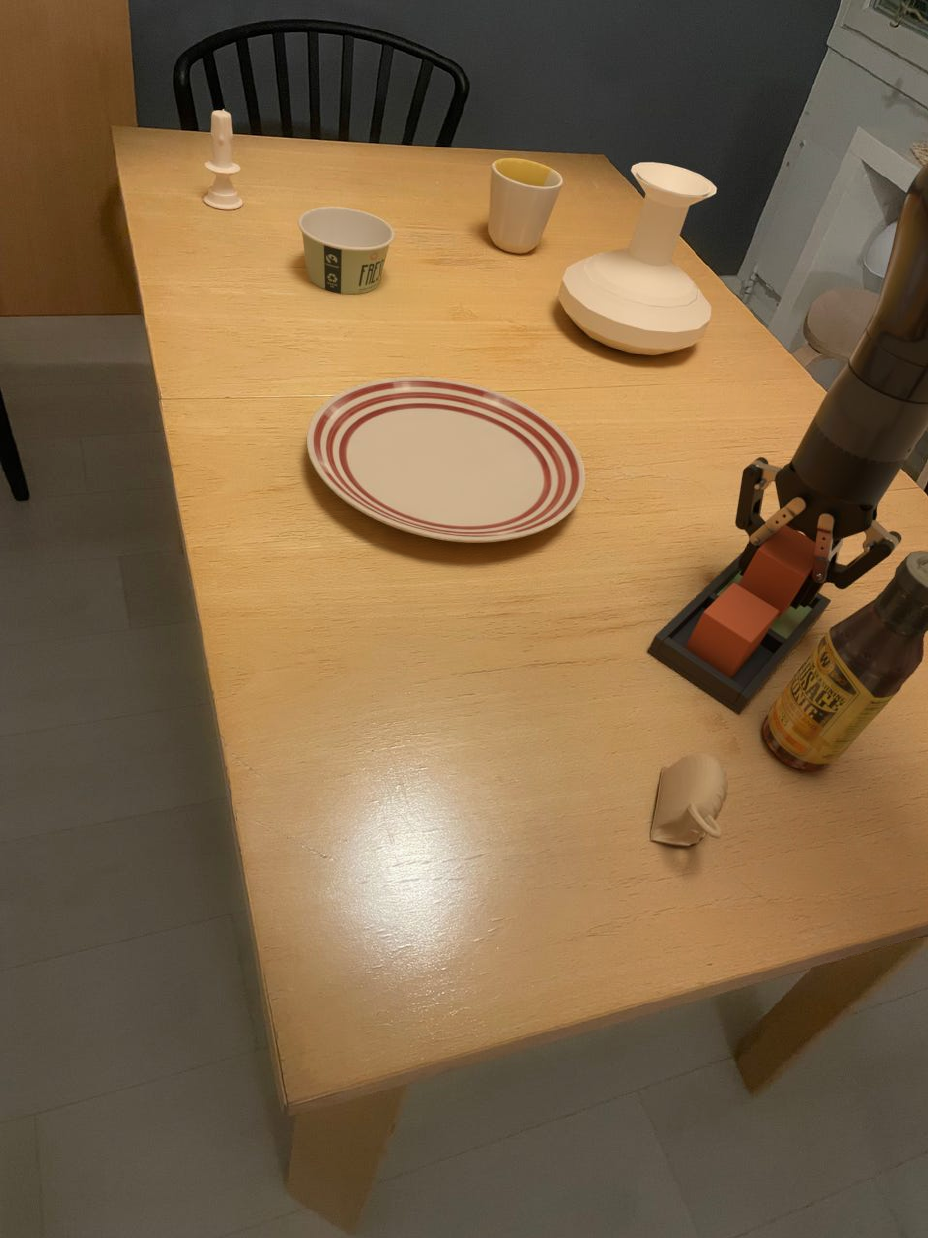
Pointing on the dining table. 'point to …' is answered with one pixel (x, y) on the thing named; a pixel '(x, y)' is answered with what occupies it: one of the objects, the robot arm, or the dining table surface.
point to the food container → (344, 248)
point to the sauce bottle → (852, 672)
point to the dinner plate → (445, 459)
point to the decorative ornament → (689, 800)
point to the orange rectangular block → (731, 629)
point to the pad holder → (760, 663)
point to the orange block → (780, 568)
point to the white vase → (643, 274)
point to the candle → (222, 164)
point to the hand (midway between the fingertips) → (771, 587)
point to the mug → (521, 203)
